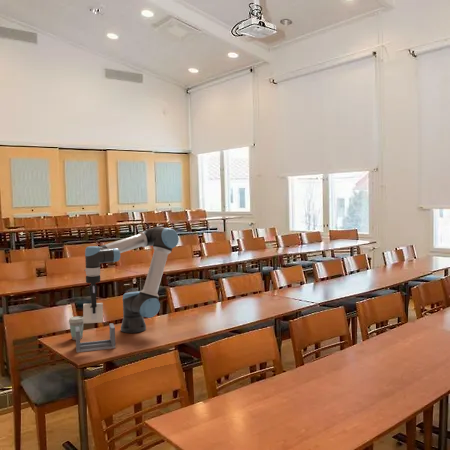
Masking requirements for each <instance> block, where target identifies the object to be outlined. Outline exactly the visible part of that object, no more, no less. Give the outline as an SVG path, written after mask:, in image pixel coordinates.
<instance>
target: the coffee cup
mask: <svg viewBox="0 0 450 450" xmlns="http://www.w3.org/2000/svg"><path fill="white" fill-rule="evenodd" d="M68 324H69V328H70V329H69V330H70V335H71V340H73V341H76V330H75V327H79V329H80V340H82V339H83V333H84V324H83V316H79V315H75V316H72V317H69V320H68Z"/></svg>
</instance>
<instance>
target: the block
mask: <svg viewBox="0 0 450 450" xmlns="http://www.w3.org/2000/svg"><path fill="white" fill-rule="evenodd" d="M96 305H97V319H93V320H92V317H91V308H90V307H91V306H92V303H91V302H89V303H83V306H82V307H83V308H82V314H83V315H82V317H83V325H84V324H96V323H97V324H98V323H99V324H100V323H103V322H104V319H103V317H104V315H103V314H104V311H103V309H104V306H103V305H104V303H103V302H96Z"/></svg>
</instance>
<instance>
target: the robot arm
mask: <svg viewBox="0 0 450 450" xmlns="http://www.w3.org/2000/svg"><path fill="white" fill-rule="evenodd" d="M179 239H180V238H179V235H178V232H177V231H176V230H175V229H173V228H170V227H159V226H156V227H152V228H148V229H145V230H142V231H139V232H138V234H134V235H132V236H129V237H125V238H121V239H119V240H115V241H112V242H109V243H106V244H102V245H99V246H98V245H89V246H86V248H85V250H84V256H85V258H84V259H85V260H84V261H85V263H84V264H85V269H84V272H85V284H90V285H89V287H88V288H89V294H90V303H92V306H91V307H90V308H91V317H92V320H93V319H97V305H96V303H97V295H98V285H97V284H99V283H101V264H105V263H107V264H108V263H115V262H116V263H117V262H119V261H120V259H121V254H122V253H125V252H128V251H129V252H130V251H131V250H134V249H137V248H140V247H142V248H145V247H152V249H153V254H152V258H151V261H150V265H149V267H148V270H147V271H148V272H147V275H146V279H145V281H144V285H143V288H142V289H141V290H139V291H137V290H136V291H129V292H125V293H124V294H123V295H122V312H123V313H122V315H123V318H122V321H121V323H120V324H121V325H120V331H121V332H122V333H126V334H134V333H142V332H144V331H146V329H147V324H146V321H145V318H149V319H150V318H153V317H155V316H156V315H157V314H158V313H159V312H160V308H161V303H160V301H159V298H160V296H159V294H158V292H159V288H160V284H161V281H162V277H163V274H164V272H165V267H166V263H167V261H168V256H169V254H171V253H172V250H173V249H174V248H175V247H176V246H177V245H178V244H179Z"/></svg>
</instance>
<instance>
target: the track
mask: <svg viewBox="0 0 450 450" xmlns="http://www.w3.org/2000/svg"><path fill="white" fill-rule="evenodd" d="M108 325H109V326H108V327H109V339H103V340H102V339H101V340H96V341H95V340H93V341H82V342H81V339H80V329H79V327H75V330H76V340H75V349H76V353H85V352H93V351H102V350H110V349H116V326H115V325H114V323H109V324H108Z"/></svg>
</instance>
